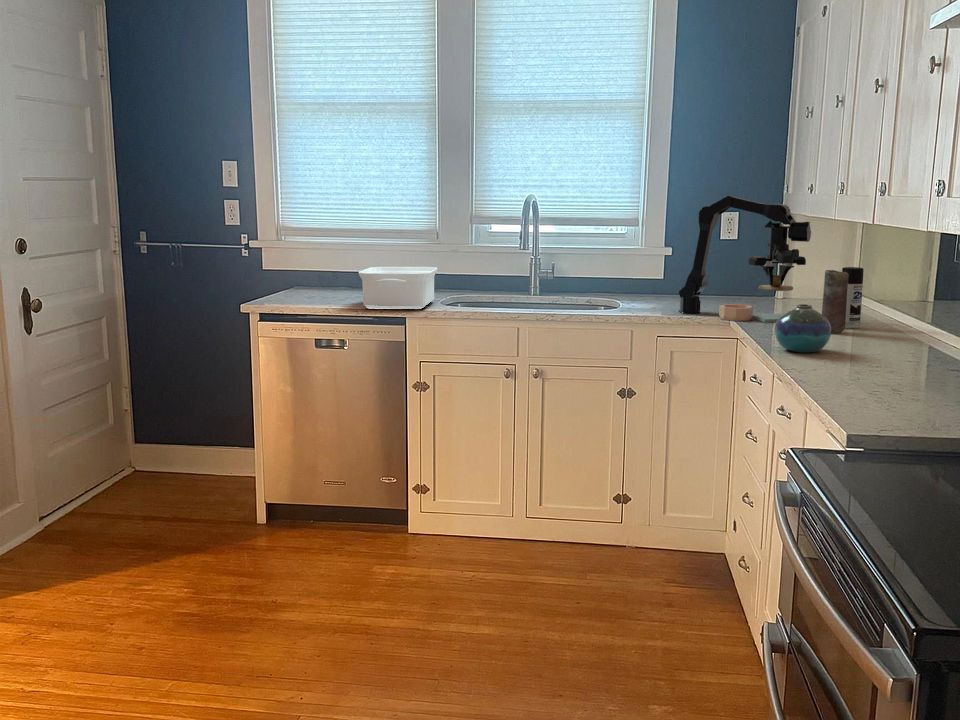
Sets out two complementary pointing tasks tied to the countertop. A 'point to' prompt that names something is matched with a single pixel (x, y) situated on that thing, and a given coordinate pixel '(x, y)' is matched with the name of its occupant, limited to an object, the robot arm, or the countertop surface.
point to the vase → (803, 330)
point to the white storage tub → (398, 286)
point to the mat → (767, 317)
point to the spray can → (854, 297)
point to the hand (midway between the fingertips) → (775, 285)
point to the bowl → (735, 312)
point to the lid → (776, 285)
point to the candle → (835, 299)
